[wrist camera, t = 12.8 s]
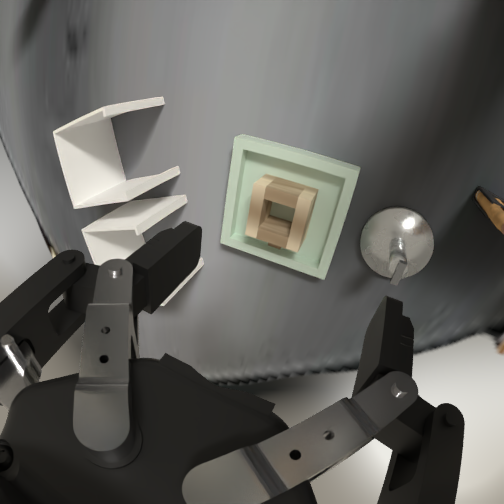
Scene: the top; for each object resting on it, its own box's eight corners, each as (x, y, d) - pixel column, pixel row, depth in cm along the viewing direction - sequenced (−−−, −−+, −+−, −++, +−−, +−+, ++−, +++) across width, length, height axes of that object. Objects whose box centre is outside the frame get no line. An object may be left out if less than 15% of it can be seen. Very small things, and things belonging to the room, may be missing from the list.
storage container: (109, 116, 42) (52, 131, 33) (163, 96, 38) (103, 106, 29) (150, 261, 53) (108, 297, 44) (204, 263, 48) (163, 306, 39)
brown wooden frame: (265, 173, 37) (253, 183, 34) (318, 189, 35) (311, 200, 32) (255, 232, 41) (243, 246, 38) (302, 248, 40) (294, 264, 37)
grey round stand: (374, 195, 34) (372, 219, 28) (444, 222, 32) (455, 251, 26) (351, 260, 39) (343, 294, 33) (415, 284, 37) (417, 320, 31)
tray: (242, 134, 36) (234, 136, 35) (360, 167, 33) (359, 171, 31) (227, 236, 44) (220, 242, 42) (327, 271, 41) (324, 280, 39)
